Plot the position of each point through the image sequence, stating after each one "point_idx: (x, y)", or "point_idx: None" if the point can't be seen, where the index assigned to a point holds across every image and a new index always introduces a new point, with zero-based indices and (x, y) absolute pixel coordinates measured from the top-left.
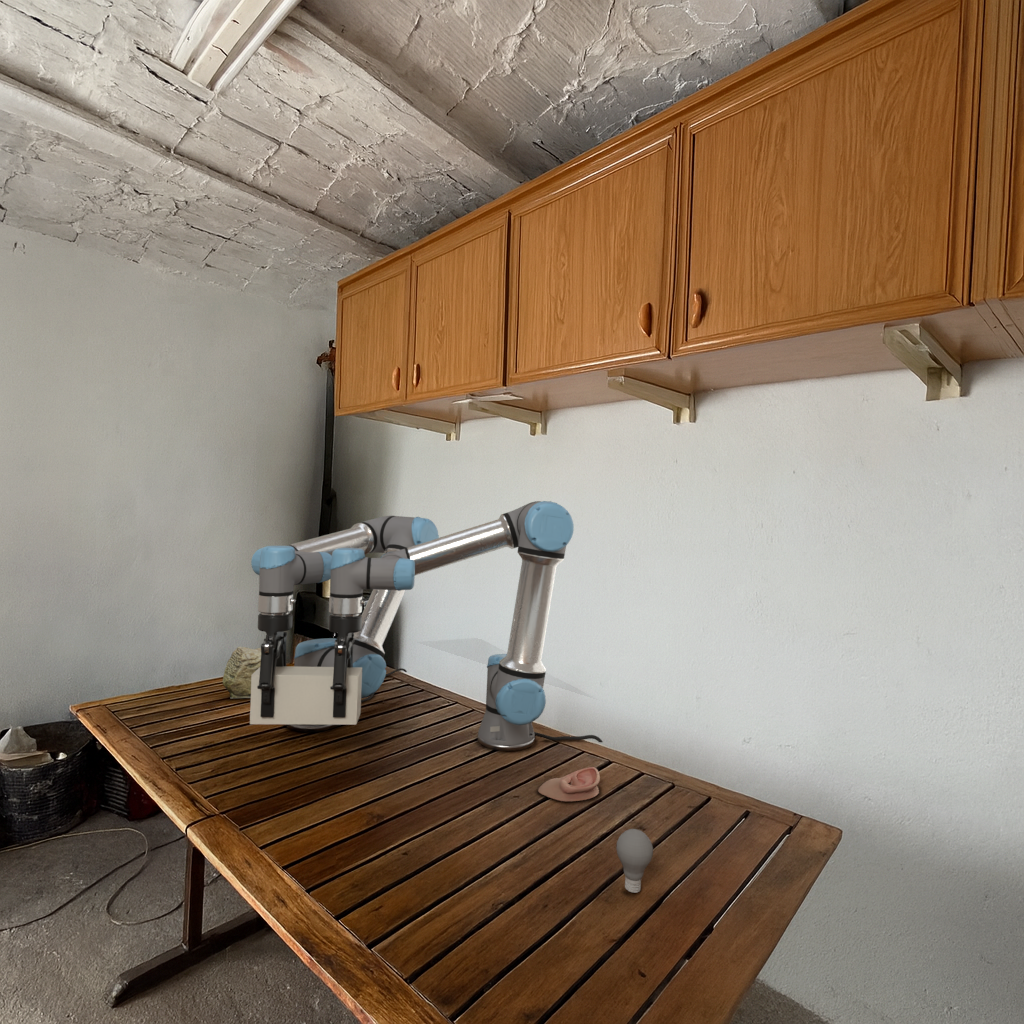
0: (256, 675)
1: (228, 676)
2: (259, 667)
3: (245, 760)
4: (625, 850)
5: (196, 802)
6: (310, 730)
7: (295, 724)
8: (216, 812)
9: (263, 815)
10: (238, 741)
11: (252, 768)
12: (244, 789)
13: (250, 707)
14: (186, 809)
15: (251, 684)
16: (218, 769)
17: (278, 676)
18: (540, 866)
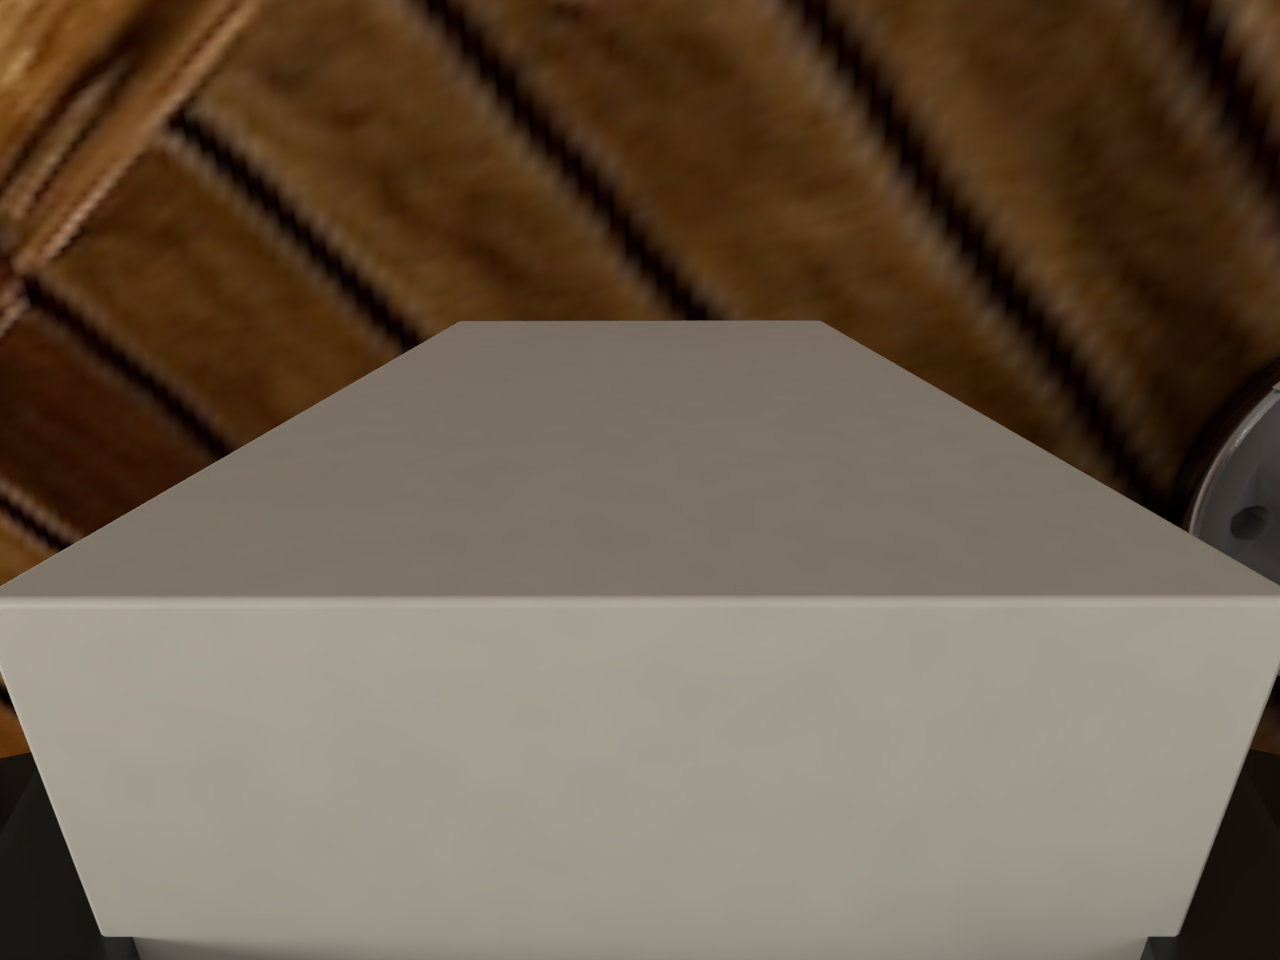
0: (53, 739)
1: None
2: (1077, 606)
3: (737, 197)
4: None
5: (106, 82)
6: (1177, 511)
7: (1262, 416)
8: (26, 254)
9: (63, 501)
10: (1115, 20)
11: (608, 284)
12: (318, 323)
13: (399, 357)
14: (8, 52)
15: (203, 477)
16: (589, 47)
17: None
18: None
